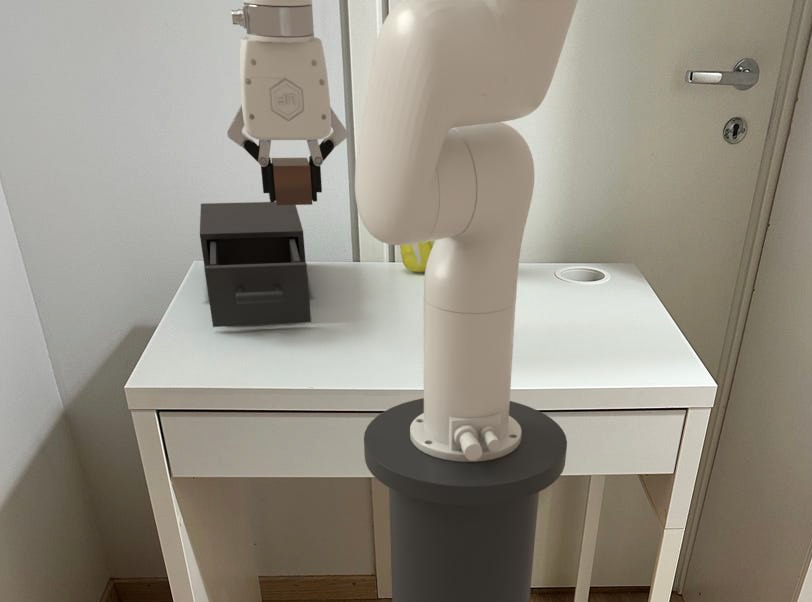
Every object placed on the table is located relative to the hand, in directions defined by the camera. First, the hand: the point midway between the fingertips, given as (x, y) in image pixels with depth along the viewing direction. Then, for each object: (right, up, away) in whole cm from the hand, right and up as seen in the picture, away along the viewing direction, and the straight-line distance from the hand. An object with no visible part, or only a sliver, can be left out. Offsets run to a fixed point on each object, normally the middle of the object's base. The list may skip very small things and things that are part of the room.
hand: (293, 197), depth 114 cm
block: (0, 0, 0) cm, 0 cm away
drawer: (-8, -8, +17) cm, 20 cm away
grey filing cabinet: (-11, +1, +30) cm, 32 cm away
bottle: (+17, +5, +37) cm, 41 cm away
